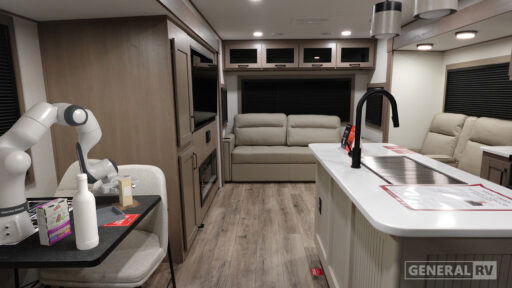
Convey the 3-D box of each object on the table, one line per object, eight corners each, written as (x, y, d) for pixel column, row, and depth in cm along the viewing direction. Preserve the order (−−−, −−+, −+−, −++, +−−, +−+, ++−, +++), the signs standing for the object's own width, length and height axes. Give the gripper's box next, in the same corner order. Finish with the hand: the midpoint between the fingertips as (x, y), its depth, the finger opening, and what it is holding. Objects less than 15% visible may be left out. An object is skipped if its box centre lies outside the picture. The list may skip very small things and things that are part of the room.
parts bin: (91, 229, 131) (90, 223, 131) (81, 219, 142) (81, 213, 141) (125, 219, 142) (125, 213, 142) (114, 210, 153) (113, 205, 152)
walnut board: (119, 211, 151) (119, 210, 151) (111, 205, 159) (111, 203, 159) (141, 205, 160) (141, 204, 159) (132, 200, 168) (132, 198, 168)
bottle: (72, 247, 116) (64, 175, 111) (91, 238, 123) (85, 170, 118) (83, 252, 112) (76, 178, 107) (103, 243, 119) (96, 173, 114)
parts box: (123, 206, 156) (121, 181, 153) (119, 204, 159) (118, 179, 157) (132, 204, 159) (131, 179, 157) (129, 201, 163) (127, 177, 160)
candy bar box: (62, 232, 128) (58, 197, 126) (72, 233, 127) (68, 198, 125) (39, 245, 118) (34, 207, 115) (49, 246, 117) (44, 208, 114)
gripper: (96, 181, 159) (105, 187, 149) (133, 174, 173) (143, 179, 164) (97, 192, 160) (106, 199, 150) (134, 184, 174) (144, 190, 165)
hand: (125, 188), depth 157 cm, fingers open, 8 cm apart
